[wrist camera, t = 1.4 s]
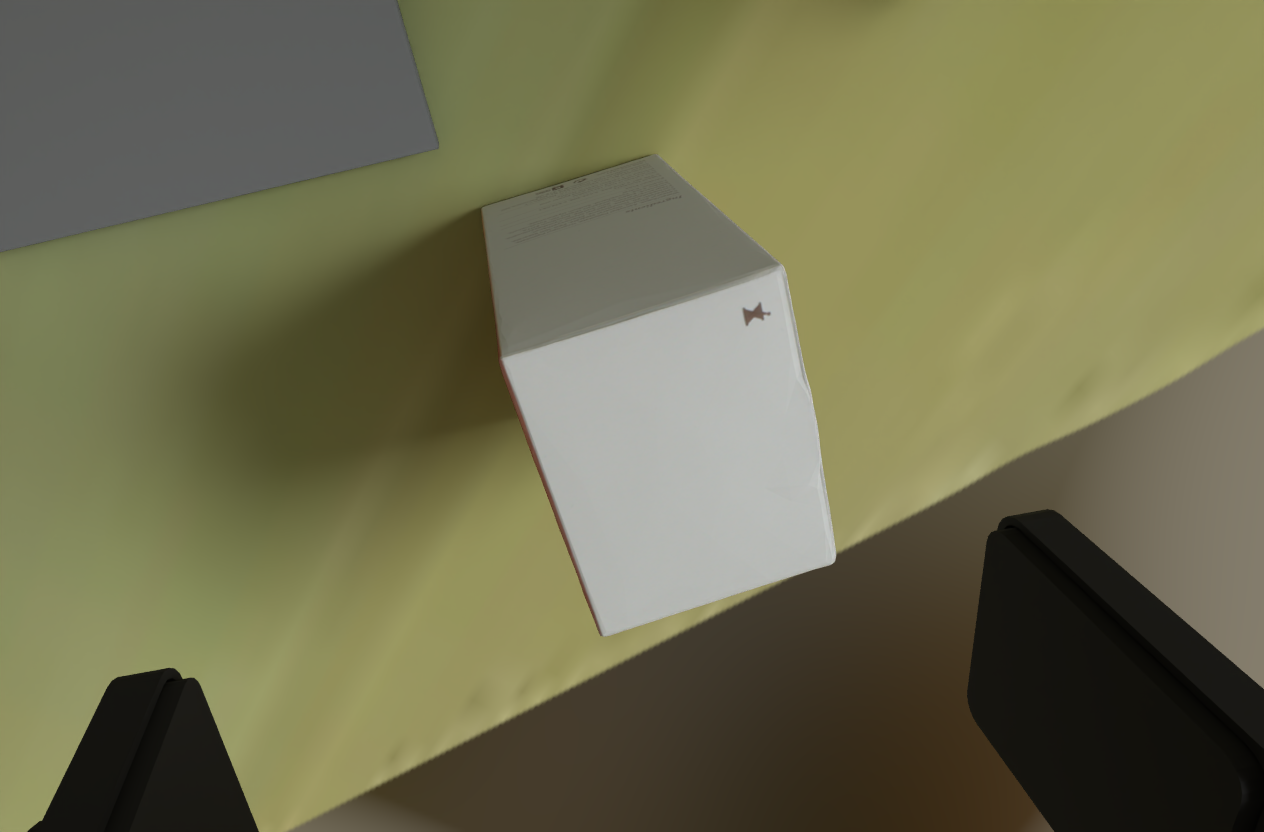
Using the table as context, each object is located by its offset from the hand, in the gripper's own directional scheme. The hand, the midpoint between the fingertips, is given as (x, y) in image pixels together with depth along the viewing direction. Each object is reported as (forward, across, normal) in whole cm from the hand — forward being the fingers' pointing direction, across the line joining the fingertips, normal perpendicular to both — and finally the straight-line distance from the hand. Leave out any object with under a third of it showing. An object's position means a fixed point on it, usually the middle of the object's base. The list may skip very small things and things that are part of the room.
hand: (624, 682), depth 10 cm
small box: (+22, -3, +2) cm, 22 cm away
